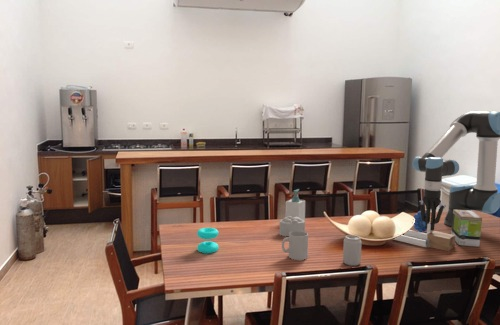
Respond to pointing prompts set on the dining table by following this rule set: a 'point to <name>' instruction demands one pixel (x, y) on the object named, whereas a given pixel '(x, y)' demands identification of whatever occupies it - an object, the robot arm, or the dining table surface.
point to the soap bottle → (295, 207)
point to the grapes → (419, 222)
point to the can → (352, 250)
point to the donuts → (207, 245)
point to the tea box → (466, 227)
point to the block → (441, 240)
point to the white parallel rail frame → (414, 240)
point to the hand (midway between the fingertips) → (429, 236)
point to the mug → (297, 245)
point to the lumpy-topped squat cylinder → (291, 225)
